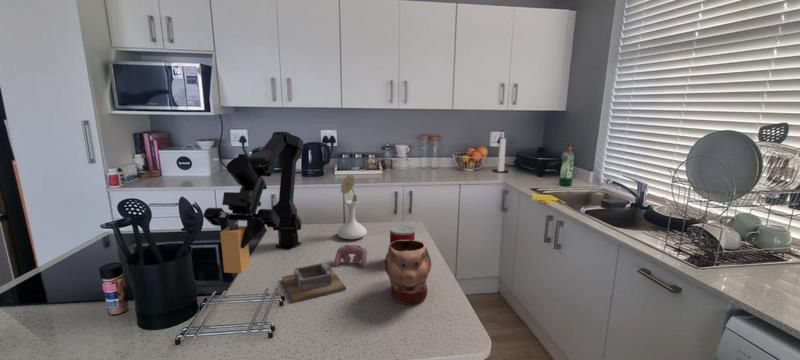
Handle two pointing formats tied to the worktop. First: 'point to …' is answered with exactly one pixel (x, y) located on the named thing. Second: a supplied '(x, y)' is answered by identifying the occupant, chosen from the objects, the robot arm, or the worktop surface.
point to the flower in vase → (351, 212)
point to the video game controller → (351, 249)
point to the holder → (312, 282)
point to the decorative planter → (408, 270)
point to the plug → (234, 248)
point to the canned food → (402, 233)
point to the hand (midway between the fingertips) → (232, 247)
